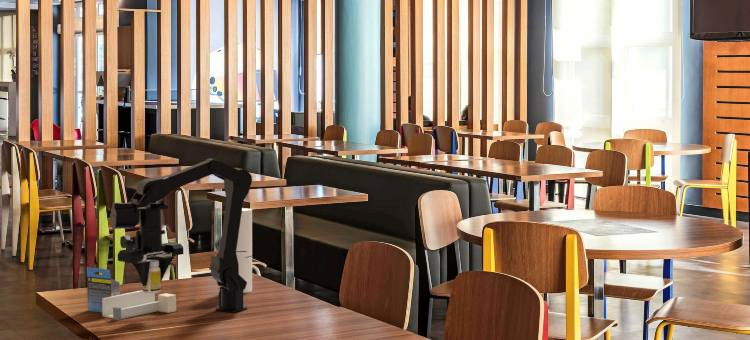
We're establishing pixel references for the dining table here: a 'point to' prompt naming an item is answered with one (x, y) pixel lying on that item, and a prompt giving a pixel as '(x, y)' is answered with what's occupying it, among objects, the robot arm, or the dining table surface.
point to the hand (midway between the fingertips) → (151, 284)
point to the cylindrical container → (245, 248)
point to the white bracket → (136, 304)
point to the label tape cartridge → (100, 288)
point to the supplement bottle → (153, 278)
